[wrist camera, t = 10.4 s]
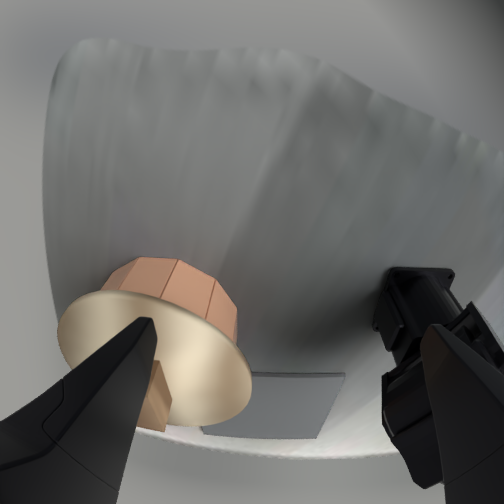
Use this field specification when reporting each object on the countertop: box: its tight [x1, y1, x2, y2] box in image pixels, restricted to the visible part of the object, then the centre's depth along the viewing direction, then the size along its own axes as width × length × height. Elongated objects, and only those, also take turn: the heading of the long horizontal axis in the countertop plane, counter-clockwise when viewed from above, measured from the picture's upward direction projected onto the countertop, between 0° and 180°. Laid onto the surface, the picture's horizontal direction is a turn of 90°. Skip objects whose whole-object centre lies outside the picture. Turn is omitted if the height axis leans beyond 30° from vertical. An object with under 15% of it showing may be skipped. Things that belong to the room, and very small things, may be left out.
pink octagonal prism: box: [100, 257, 237, 345], centre depth 22 cm, size 12×12×6 cm
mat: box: [202, 372, 345, 439], centre depth 32 cm, size 16×16×1 cm
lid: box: [57, 290, 252, 432], centre depth 18 cm, size 15×15×4 cm
